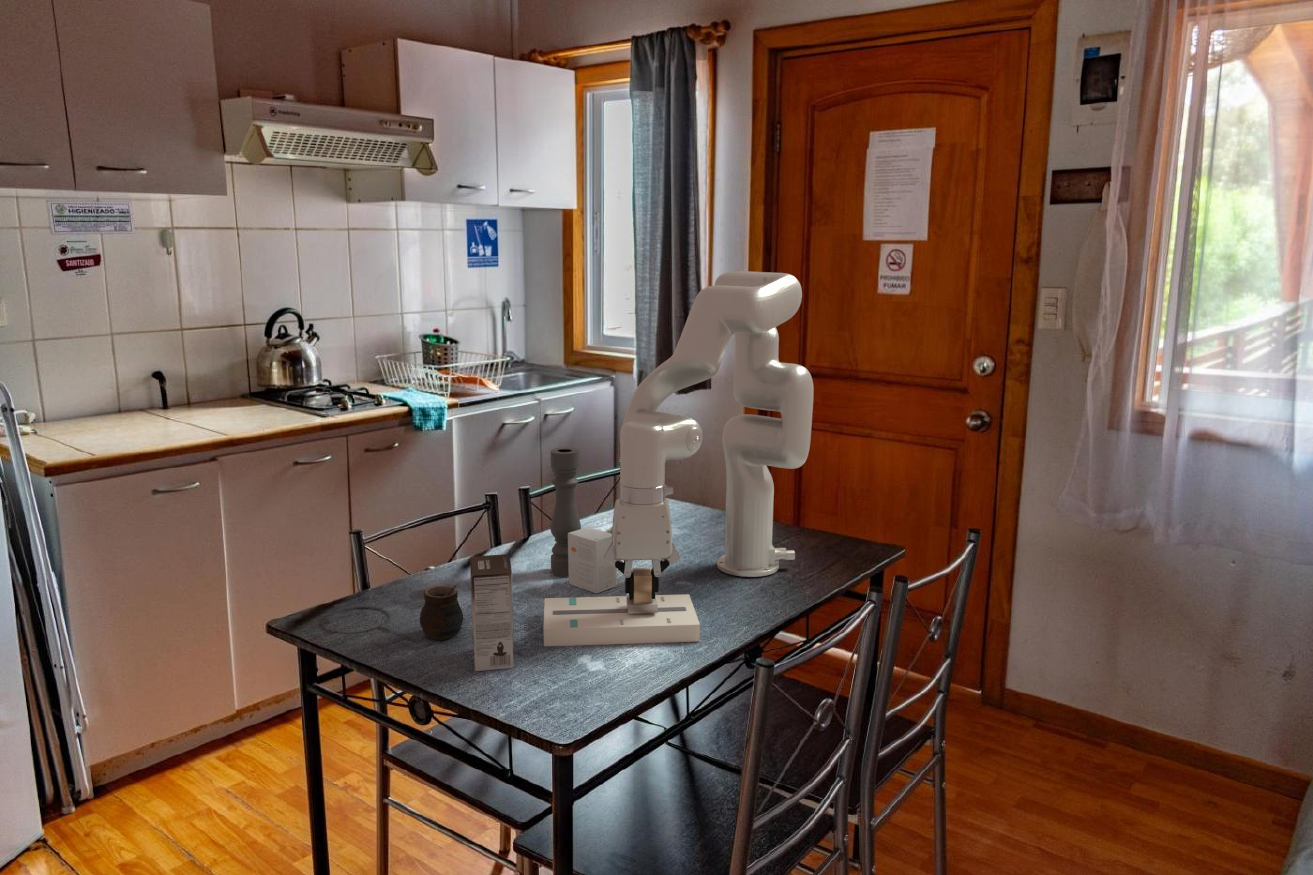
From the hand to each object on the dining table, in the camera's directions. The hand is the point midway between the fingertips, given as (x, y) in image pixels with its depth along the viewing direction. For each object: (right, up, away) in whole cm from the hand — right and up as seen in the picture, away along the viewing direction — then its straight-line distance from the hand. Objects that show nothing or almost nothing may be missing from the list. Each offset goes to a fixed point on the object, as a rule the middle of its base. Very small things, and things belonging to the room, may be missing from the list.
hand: (641, 595), depth 172 cm
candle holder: (-16, 0, +28) cm, 32 cm away
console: (-4, -6, +1) cm, 7 cm away
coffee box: (-24, -8, -12) cm, 28 cm away
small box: (-10, -2, +21) cm, 23 cm away
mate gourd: (-34, -6, -3) cm, 34 cm away
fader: (0, -2, 0) cm, 2 cm away
